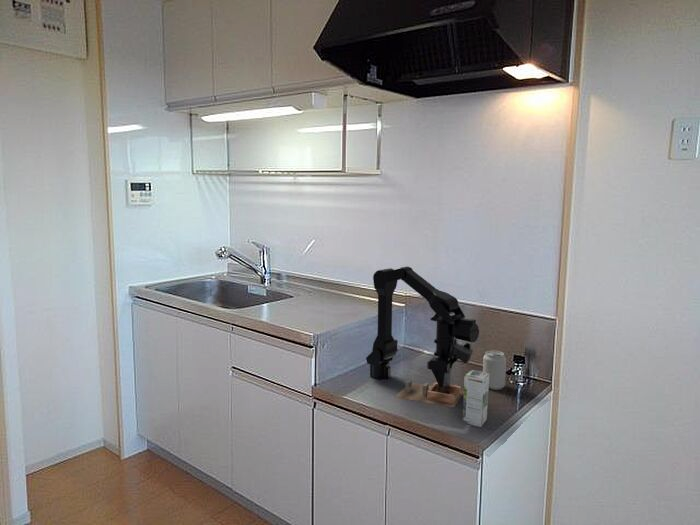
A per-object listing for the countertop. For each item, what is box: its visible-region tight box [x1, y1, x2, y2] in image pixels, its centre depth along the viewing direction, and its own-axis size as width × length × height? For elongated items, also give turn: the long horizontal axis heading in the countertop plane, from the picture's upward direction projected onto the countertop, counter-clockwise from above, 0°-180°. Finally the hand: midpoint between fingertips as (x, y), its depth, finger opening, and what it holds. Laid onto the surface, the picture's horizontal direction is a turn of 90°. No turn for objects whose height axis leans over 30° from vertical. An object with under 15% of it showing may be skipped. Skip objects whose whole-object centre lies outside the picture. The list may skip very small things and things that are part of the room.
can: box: [482, 350, 507, 391], centre depth 177 cm, size 8×8×12 cm
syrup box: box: [461, 369, 490, 428], centre depth 150 cm, size 6×6×14 cm
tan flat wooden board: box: [395, 379, 464, 408], centre depth 168 cm, size 19×14×4 cm
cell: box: [438, 368, 452, 394], centre depth 166 cm, size 4×4×10 cm
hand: (444, 383), depth 166 cm, fingers open, 7 cm apart
